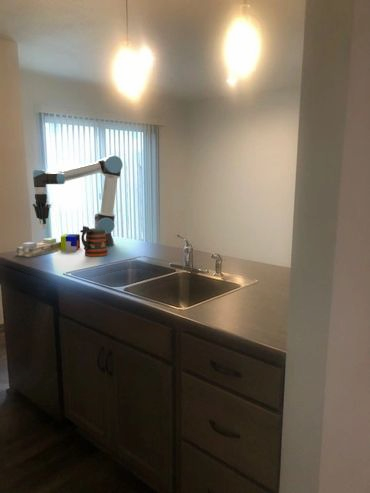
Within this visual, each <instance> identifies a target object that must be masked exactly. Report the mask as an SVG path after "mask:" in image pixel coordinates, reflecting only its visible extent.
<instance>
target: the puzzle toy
mask: <svg viewBox="0 0 370 493" xmlns="http://www.w3.org/2000/svg"><path fill="white" fill-rule="evenodd" d="M60 242H61V250H60V252H62V251H63V252H77V251H78V250H80V249H81V234H78V233H77V234H76V233H65V234H62V235H61V236H60ZM79 248H80V249H79Z"/></svg>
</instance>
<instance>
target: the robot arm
mask: <svg viewBox="0 0 370 493" xmlns="http://www.w3.org/2000/svg"><path fill="white" fill-rule="evenodd" d="M123 164H124V163H123V161H122V159H121V158H120V157H119V156H117V155H115V154H113V155H112V154H111V155H108V156H107V157H104V158H101V159H98V160H97V161H96V162H93V163H87V164H85V165H79V166H76V167H72V168H68V169H64V170H60V171H53V172H46V170H45V169H34V170H33V171H32V176H33V177H32V178H33V188H34V189H33V190H34V199H35V203H32V207H33V209H34V211H35V216H36V218H37V219H38V220H39V224H40V229H41V230H45V229H47V228H46V227H47V226H46V224H47V219H49V214H50V208H51V203H48V201H47V200H48V194H47V191H48V190H47V185H64V184H65V183H66V182H68V181H72V180H75V179H81V178H84V177H87V176H92V175H96V174H102V175H103V176H104V182H103V189H102V190H103V191H102V197H101V206H100V211H99V212H98V213H95V214H94V228H100V229H101V228H103V230H105V234H106V246H107V247H109V246H113V245H114V244H115V241H114V239H113V235H112V232H113V231H114V229H115V217H116V214H114V207H115V200H116V193H117V185H118V179H119V178H120V177H121V171H122V169H123V166H124V165H123Z"/></svg>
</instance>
